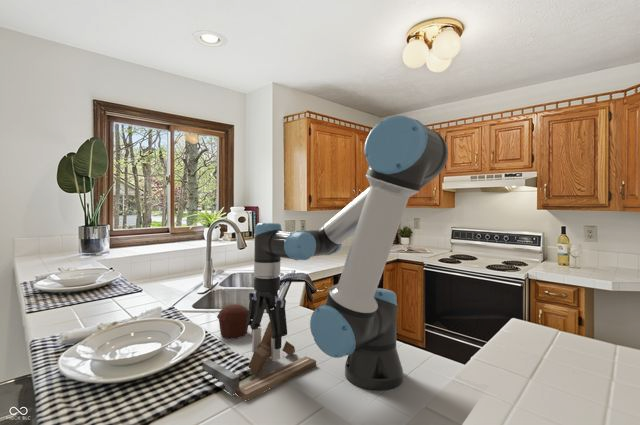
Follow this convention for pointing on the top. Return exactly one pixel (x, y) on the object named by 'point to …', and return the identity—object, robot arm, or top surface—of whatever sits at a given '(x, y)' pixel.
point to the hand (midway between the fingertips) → (265, 355)
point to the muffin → (233, 321)
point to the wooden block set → (266, 351)
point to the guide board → (260, 383)
